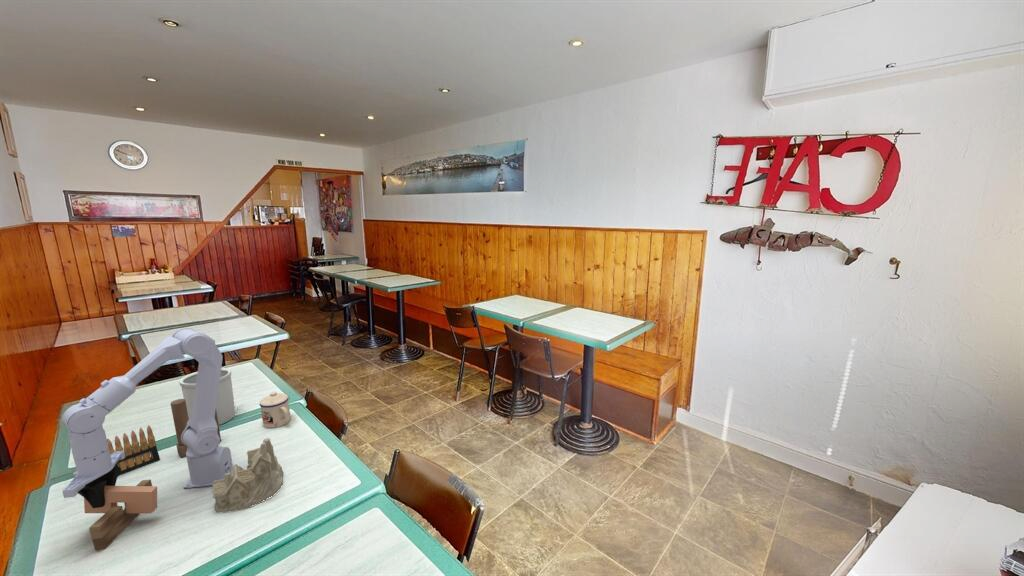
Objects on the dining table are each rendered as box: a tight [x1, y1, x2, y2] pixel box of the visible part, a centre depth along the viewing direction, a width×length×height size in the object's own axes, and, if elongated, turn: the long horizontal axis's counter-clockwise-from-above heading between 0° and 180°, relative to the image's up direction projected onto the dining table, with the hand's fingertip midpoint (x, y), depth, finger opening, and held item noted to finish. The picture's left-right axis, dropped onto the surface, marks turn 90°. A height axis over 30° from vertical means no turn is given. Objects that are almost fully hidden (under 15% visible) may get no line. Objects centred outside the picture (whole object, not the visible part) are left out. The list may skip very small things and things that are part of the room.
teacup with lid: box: [259, 391, 291, 429], centre depth 141 cm, size 12×9×12 cm
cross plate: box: [83, 485, 158, 514], centre depth 96 cm, size 14×2×6 cm, turn 100°
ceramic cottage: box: [212, 437, 284, 514], centre depth 107 cm, size 16×16×15 cm
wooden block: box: [170, 398, 222, 458], centre depth 126 cm, size 4×11×18 cm, turn 146°
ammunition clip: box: [107, 424, 161, 477], centre depth 117 cm, size 11×2×12 cm, turn 143°
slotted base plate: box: [89, 479, 153, 551], centre depth 97 cm, size 16×2×6 cm, turn 10°
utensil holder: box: [179, 367, 236, 426], centre depth 144 cm, size 15×15×18 cm
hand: (103, 502), depth 95 cm, fingers closed on cross plate, 2 cm apart
